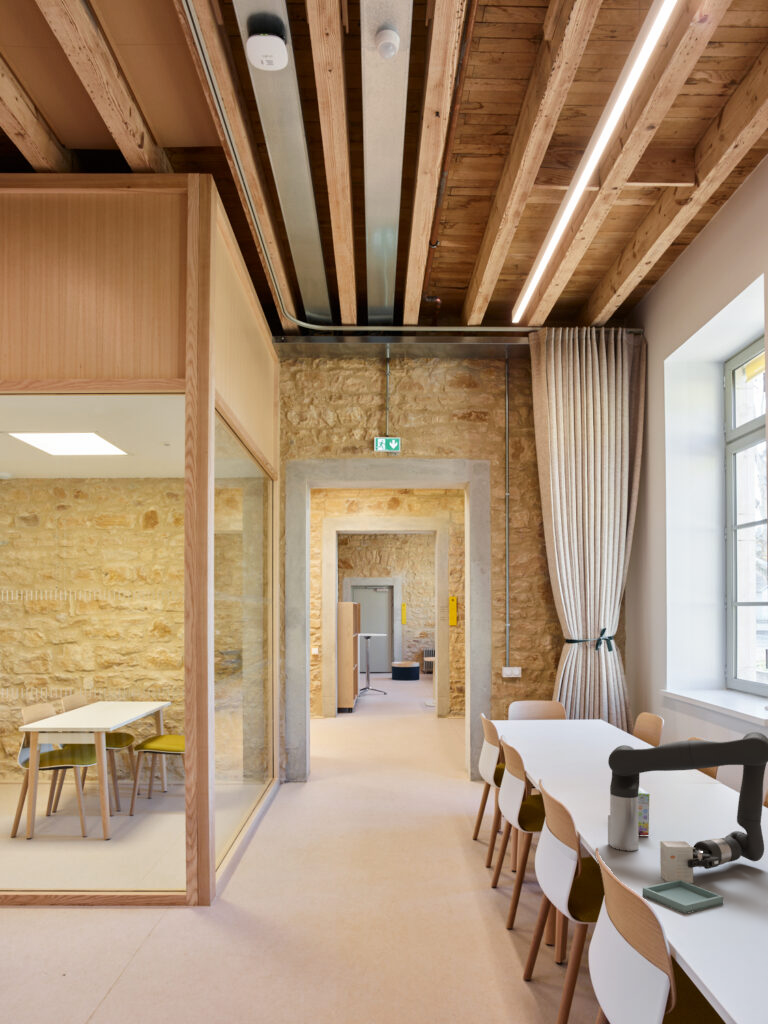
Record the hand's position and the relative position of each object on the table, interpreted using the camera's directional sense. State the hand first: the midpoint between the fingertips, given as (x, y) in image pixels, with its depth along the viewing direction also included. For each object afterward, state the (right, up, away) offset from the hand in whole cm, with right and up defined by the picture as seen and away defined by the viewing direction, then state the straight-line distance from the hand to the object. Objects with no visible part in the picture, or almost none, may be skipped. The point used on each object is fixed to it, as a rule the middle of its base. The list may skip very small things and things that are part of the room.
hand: (676, 859), depth 241 cm
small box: (0, -6, 0) cm, 6 cm away
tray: (-4, -4, -16) cm, 17 cm away
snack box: (+4, -12, +54) cm, 56 cm away
